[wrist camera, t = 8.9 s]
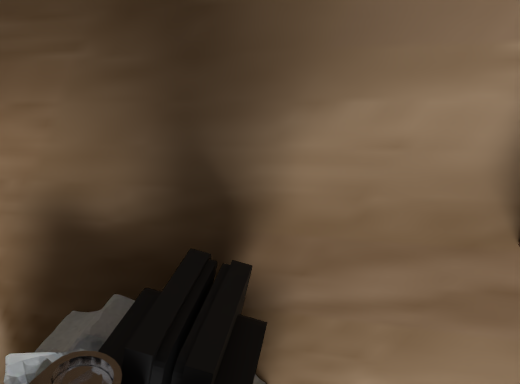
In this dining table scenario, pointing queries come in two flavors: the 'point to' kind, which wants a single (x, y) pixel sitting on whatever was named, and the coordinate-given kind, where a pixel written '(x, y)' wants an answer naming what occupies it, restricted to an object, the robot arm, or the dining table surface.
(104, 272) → the dining table surface
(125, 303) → the egg carton
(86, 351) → the robot arm
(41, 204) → the dining table surface
